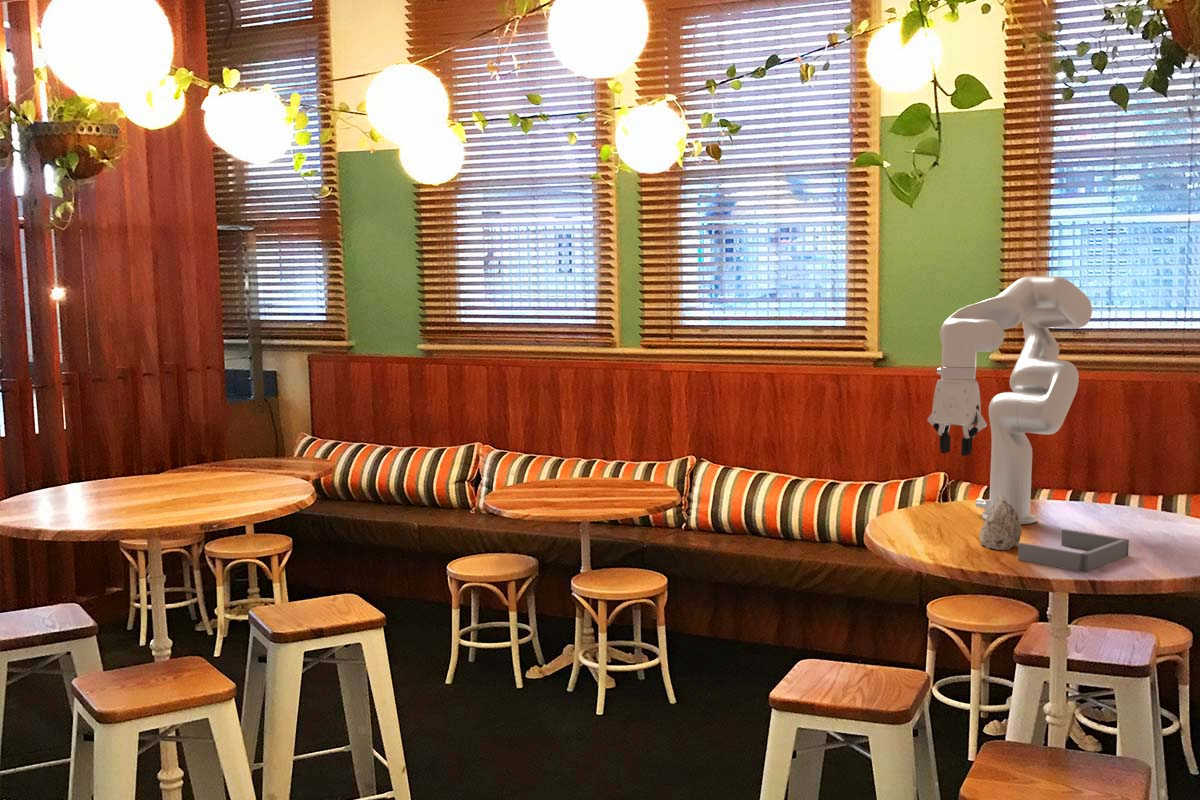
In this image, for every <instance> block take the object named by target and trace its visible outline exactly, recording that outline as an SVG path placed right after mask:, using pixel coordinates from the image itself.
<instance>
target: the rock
mask: <svg viewBox="0 0 1200 800" xmlns="http://www.w3.org/2000/svg"><path fill="white" fill-rule="evenodd" d="M1022 530H1023V529H1022V524H1020V521H1019V517H1018V514H1017V512H1016V511H1015V510H1014V508H1013V505H1011V504H1008V502H1007V501H1006V499H1005V498H1004V497H1003V496H998V497H997V499H996V500H995V501H994V503H993V506H992V508H991V510H990V511H989V514H988V515H987V518H986V520H985V519H984V523H983V524H982V527H981V529H980V531H979V541H980V543H981V545H983V547H985V548H986V549H989V550H996V551H1000V550H1001V551H1002V550H1003V551H1009V550H1010V549H1011V548H1013V547H1019V543H1020V541H1021V536H1022ZM991 548H992V549H991Z"/></svg>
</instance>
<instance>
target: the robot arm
mask: <svg viewBox="0 0 1200 800" xmlns="http://www.w3.org/2000/svg"><path fill="white" fill-rule="evenodd" d="M1092 314H1093V306H1092V303H1091V300H1090V299H1089V297H1088V296H1087V295H1086V294H1085V293H1084V292H1083V291H1082V290H1081V289H1079V288H1078V287H1077V286H1076V285H1075V284H1074V283H1072V282H1071V281H1069V280H1068V279H1066V278H1065V277H1062V276H1055V275H1054V276H1053V275H1052V276H1051V275H1050V276H1048V275H1047V276H1045V275H1044V276H1037V275H1036V276H1032V275H1031V276H1024V277H1021V278H1019V279H1017V280H1015V281H1014V282H1012V283H1011V284H1010V285H1009V286H1008V287H1007V288H1005V289H1004V290H1003V291H1002V292H1000V293H999V294H998V295H996V296H995V297H991V298H987V299H985V300H982V301H979V302H976V303H973V304H969V305H966V306H964V307H961V308H959V309H958V310H956V311H955V312H954V313H952V314H951V315H949V316H948V318H946V319H945V320H944V322H943V324H942V325H941V327H940V330H939V339H940V343H941V345H942V347H941V366H940V367H939V368H937V369H936V374H937V375H939V376H940V378H941V379H937V381H936V384H935V389H934V393H933V394H934V395H933V402H932V409H931V410H932V411H931V413H930V415H929V416H928V417H927V419H926V420H927V423H929V424H930V426H932V427H933V429H934V430H935V431H936V433H937V435H938V436H939V449H940V450H939V451H940V454H946V453H950V452H951V434H949V431H950V429H951V426H953V425H954V426H962V433H963V437H964V438H963V437H962V439H961V448H960V449H961V456H962V457H966V456H971V454H972V451H973V438H975V437H976V435H978V433H979V432H980V431H983V430H984V429H985V428H987V426H988V423H987V422H986V420H985V418H984V417H983V415H982V414H981V413H982V411H981V410H982V409H981V405H982V404H981V403H982V402H981V394H980V393H981V392H980V386H979V382H978V380H976V373H977V355H978V353H977V352H979V353H981V352H982V353H989V352H990V353H991V352H993V351H997V349H999V348H1000V347H1001V346H1002V345H1003V342H1004V339H1005V331H1004V330H1008V329H1013V328H1016V327H1017V326H1018V325H1019V324H1022V329H1023V335H1024V345H1023V347H1022V349H1021V352H1020V354H1019V356H1018V358H1017V361H1016V362H1015V365H1014V367H1013V370H1012V372H1011V374H1010V376H1009V377H1010V378H1009V388H1010V389H1011V390H1012V391H1005V392H1001V393H997V394H996V395H995V396H993V397H992V398H991V400H990V402H989V405H988V418H989V424H990V432H991V433H990V435H991V453H990V454H991V456H990V476H989V477H990V478H989V481H990V482H989V499H988V498H987V499H983V498H976V499H975V500H976V501H975V507H976V508H983V509H984V511H983V512H982V514H981V516H982V519H983V520H984V521H985V520H986V518H987V515H988V514H989V511H990V510H991V508H992V506H993V503H994V501H995V500H996V499H997V497H998V496H1003V497H1004V498H1005V499H1006V501H1007V502H1008V504H1011V505H1013V508H1014V510H1015V511H1016V512H1017V514H1018V517H1019V521H1020V524H1021V525H1030V524H1034V523H1037V516H1036V515H1034V514H1032V513H1031V496H1032V495H1031V493H1032V492H1031V491H1032V473H1033V472H1032V469H1033V448H1032V447H1033V446H1032V444H1031V442H1030V440H1029V438H1028V437H1027V435H1026V433H1027V434H1028V433H1029V434H1035V435H1036V434H1038V435H1054V434H1055V433H1057V432H1058V431H1060V429H1061V427H1062V426H1063V424H1064V422H1065V420H1066V417H1067V415H1068V412H1069V410H1070V408H1071V406H1072V403H1073V402H1074V399H1075V396H1076V394H1077V391H1078V387H1079V371H1078V369H1077V367H1076V366H1075V365H1074V364H1073V363H1072V362H1070V361H1067V360H1062V359H1061V360H1060V359H1058V357H1059V356H1060V355H1059V354H1060V346H1059V344H1058V342H1057V340H1056V339H1055V337H1054V336H1053V335H1052V333H1051V332H1050V330H1049V328H1055V329H1056V328H1059V329H1060V328H1061V329H1080V328H1083V327H1085V326H1086V325H1088V323H1089V322H1090V320H1091V318H1092ZM974 425H975V426H974Z"/></svg>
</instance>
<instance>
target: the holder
mask: <svg viewBox="0 0 1200 800" xmlns="http://www.w3.org/2000/svg"><path fill="white" fill-rule="evenodd" d="M1129 541H1130V539H1128V538H1121V537H1116V536H1110V535H1109V536H1108V535H1104V534H1103V535H1102V534H1097V533H1092V532H1091V533H1090V532H1085V531H1079V530H1078V531H1077V530H1072V529H1066V528H1064V529H1061V544H1060V546H1065V547H1069V548H1075V549H1081V550H1086V551H1085V552H1082V553H1081V552H1078V551H1077V552H1076V551H1072V550H1071V551H1070V550H1065V549H1059V548H1054V547H1048V546H1042V545H1036V544H1033V543H1032V544H1031V543H1025V542H1019V544H1018V550H1017V551H1018V553H1017V555H1018V557H1017V558H1018V559H1017V560H1019V561H1022V562H1028V563H1032V564H1039V565H1043V566H1044V565H1045V566H1048V567H1049V566H1050V567H1054V568H1055V567H1056V568H1059V569H1060V568H1061V569H1066V570H1071V571H1076V572H1082V573H1086V572H1088V571H1091V570H1094V569H1096V568H1099V567H1101V566H1105V565H1107V564H1110V563H1112V562H1115V561H1117V560H1120V559H1122V558H1125V557H1128V556H1129V549H1130V548H1129V546H1130V545H1129V544H1130V542H1129Z"/></svg>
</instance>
